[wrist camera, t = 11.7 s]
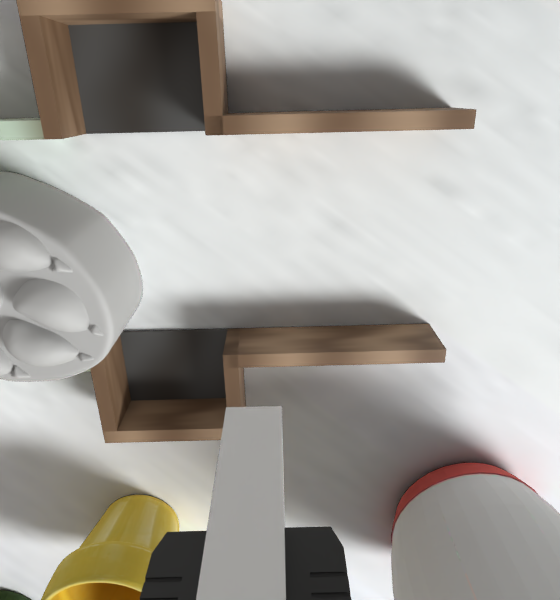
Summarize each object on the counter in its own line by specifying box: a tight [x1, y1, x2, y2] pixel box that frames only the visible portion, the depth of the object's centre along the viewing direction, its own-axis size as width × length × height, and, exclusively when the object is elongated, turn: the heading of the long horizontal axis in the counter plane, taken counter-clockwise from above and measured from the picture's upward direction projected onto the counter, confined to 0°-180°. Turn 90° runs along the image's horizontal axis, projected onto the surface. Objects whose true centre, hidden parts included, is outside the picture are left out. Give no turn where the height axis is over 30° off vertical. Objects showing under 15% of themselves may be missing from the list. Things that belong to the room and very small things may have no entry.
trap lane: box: [0, 0, 476, 443], centre depth 32 cm, size 37×28×4 cm
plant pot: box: [41, 495, 179, 600], centre depth 39 cm, size 10×10×10 cm
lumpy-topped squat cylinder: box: [0, 171, 143, 382], centre depth 30 cm, size 10×13×9 cm
